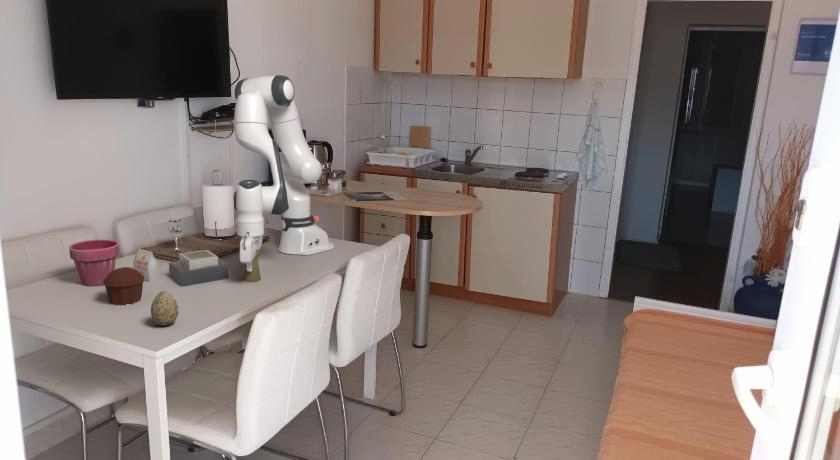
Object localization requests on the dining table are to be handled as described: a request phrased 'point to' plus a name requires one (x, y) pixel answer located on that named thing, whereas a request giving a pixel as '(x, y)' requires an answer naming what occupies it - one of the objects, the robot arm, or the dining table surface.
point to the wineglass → (175, 229)
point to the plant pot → (94, 260)
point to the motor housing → (198, 268)
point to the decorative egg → (164, 309)
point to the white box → (146, 265)
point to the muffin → (124, 286)
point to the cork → (255, 273)
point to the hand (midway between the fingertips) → (251, 267)
